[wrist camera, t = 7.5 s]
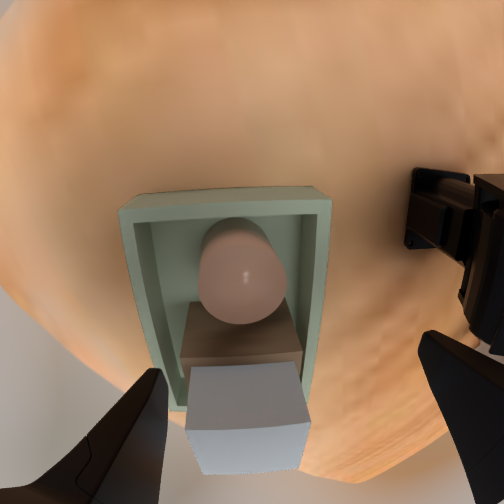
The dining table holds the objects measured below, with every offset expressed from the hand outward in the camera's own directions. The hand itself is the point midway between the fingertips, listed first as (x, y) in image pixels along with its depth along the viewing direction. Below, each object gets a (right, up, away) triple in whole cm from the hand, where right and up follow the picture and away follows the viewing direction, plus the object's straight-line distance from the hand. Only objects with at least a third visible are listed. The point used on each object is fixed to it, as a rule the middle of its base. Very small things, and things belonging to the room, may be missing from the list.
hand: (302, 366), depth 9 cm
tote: (-3, 0, +13) cm, 14 cm away
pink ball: (-3, +4, +11) cm, 12 cm away
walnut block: (-3, -3, +14) cm, 14 cm away
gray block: (-2, -6, +8) cm, 10 cm away
